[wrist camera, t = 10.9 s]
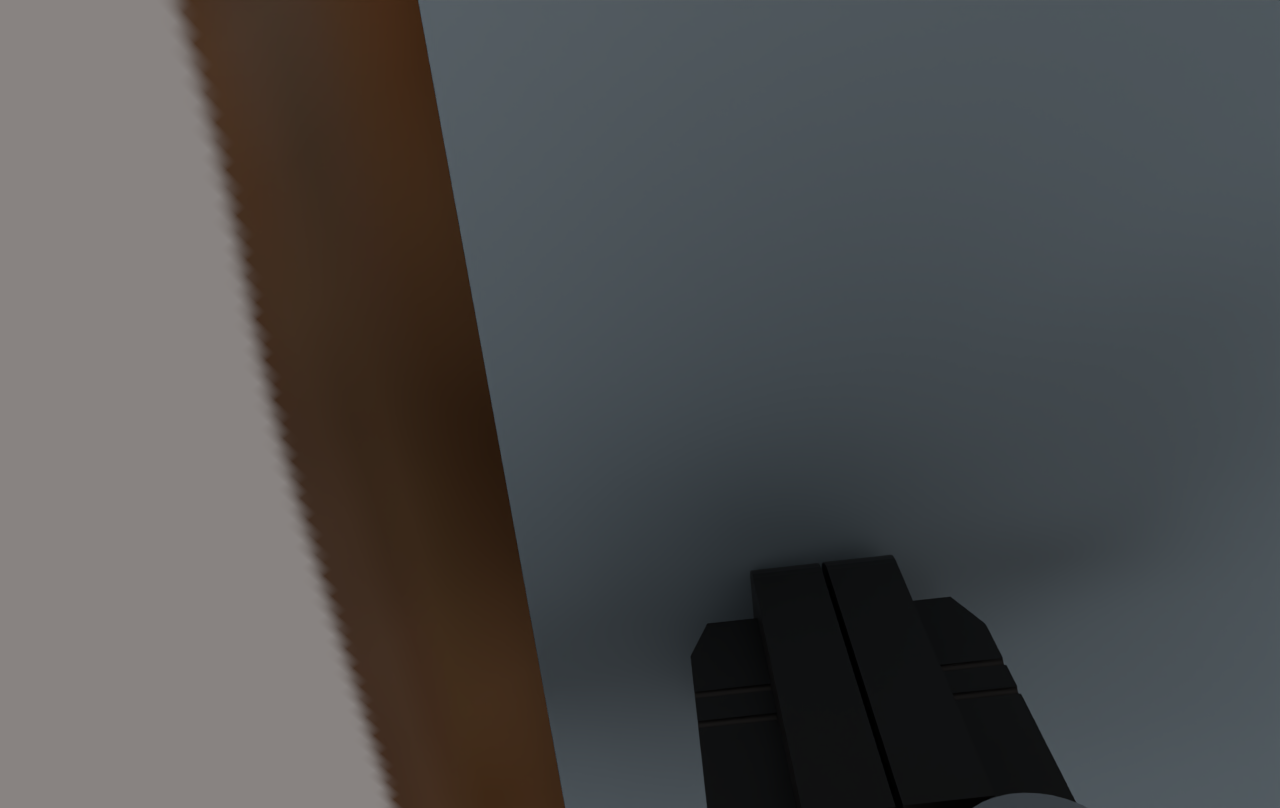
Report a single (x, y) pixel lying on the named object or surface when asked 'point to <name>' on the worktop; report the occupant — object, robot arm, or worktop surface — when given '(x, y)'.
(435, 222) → the worktop surface
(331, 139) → the worktop surface
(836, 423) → the tailgate
